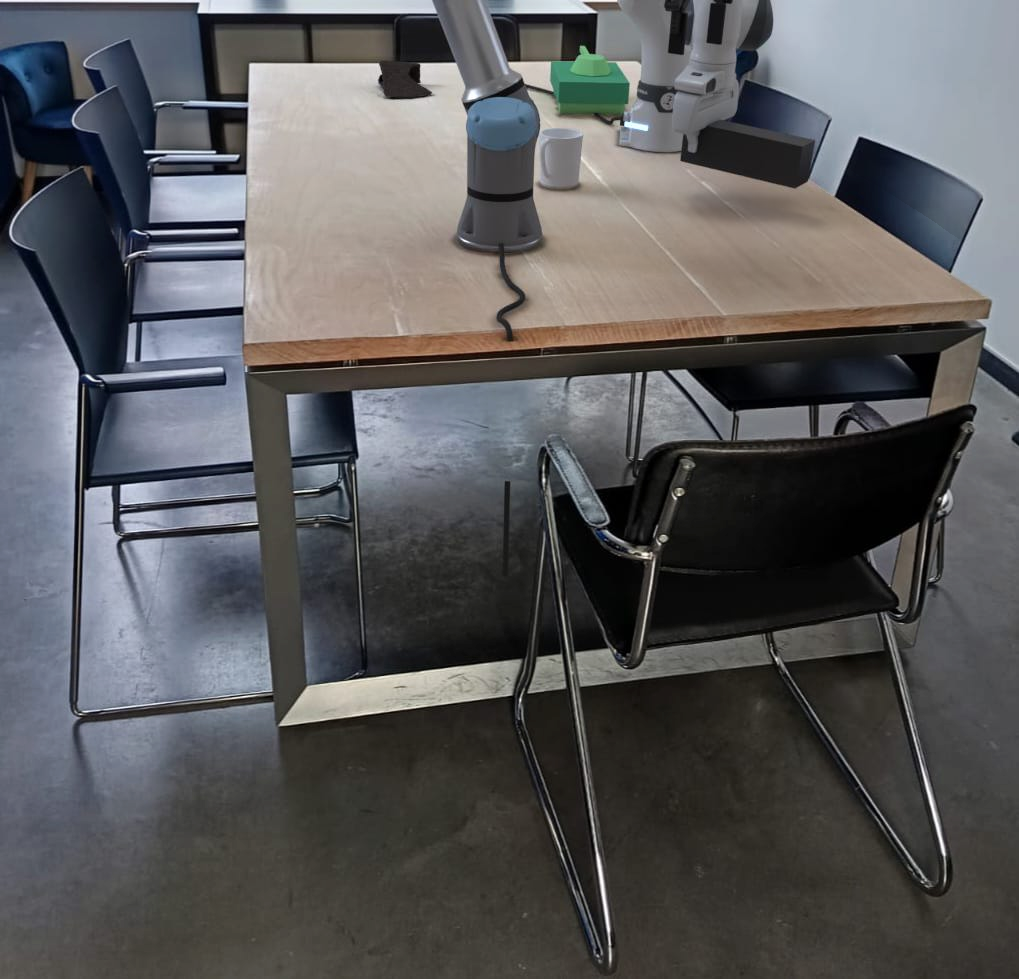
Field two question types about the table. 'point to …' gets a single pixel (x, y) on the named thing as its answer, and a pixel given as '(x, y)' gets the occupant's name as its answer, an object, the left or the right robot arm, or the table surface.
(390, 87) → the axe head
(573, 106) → the toy tank
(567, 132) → the mug
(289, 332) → the table surface
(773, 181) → the bar
